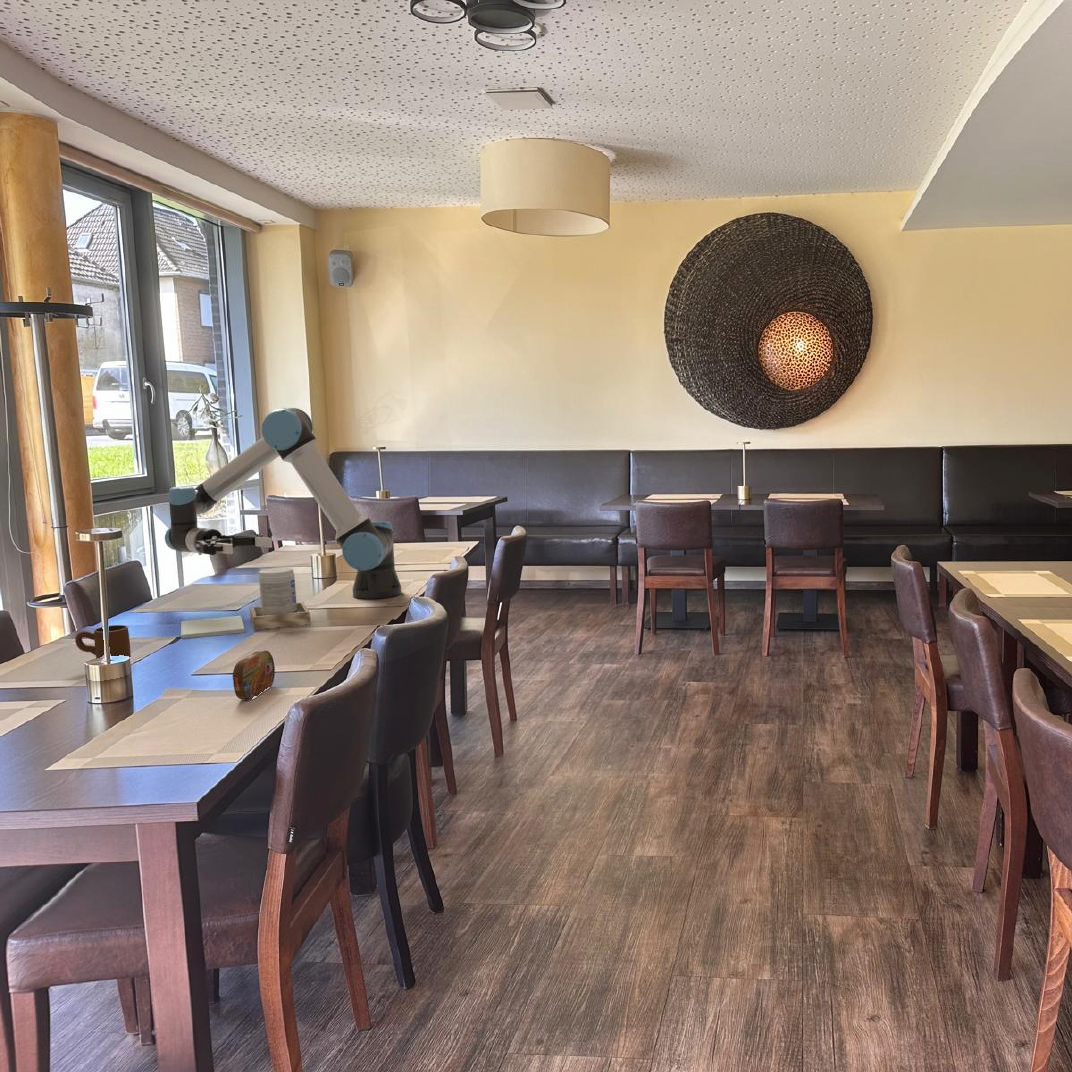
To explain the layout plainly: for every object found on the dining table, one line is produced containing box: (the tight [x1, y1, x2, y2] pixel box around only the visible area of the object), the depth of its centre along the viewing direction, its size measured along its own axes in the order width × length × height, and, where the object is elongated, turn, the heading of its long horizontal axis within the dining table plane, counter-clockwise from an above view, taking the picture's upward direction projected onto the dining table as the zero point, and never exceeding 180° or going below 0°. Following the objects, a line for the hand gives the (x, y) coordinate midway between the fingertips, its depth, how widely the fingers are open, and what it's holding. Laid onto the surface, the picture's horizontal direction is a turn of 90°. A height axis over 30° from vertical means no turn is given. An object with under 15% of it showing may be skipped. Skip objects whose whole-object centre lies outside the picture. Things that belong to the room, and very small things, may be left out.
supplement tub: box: [258, 567, 297, 616], centre depth 285 cm, size 10×10×15 cm
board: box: [180, 615, 245, 640], centre depth 280 cm, size 16×18×1 cm
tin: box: [232, 650, 276, 701], centre depth 215 cm, size 15×3×8 cm, turn 170°
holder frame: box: [249, 601, 311, 630], centre depth 286 cm, size 15×15×4 cm
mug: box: [74, 624, 132, 660], centre depth 241 cm, size 12×8×9 cm, turn 97°
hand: (251, 545), depth 289 cm, fingers open, 13 cm apart
